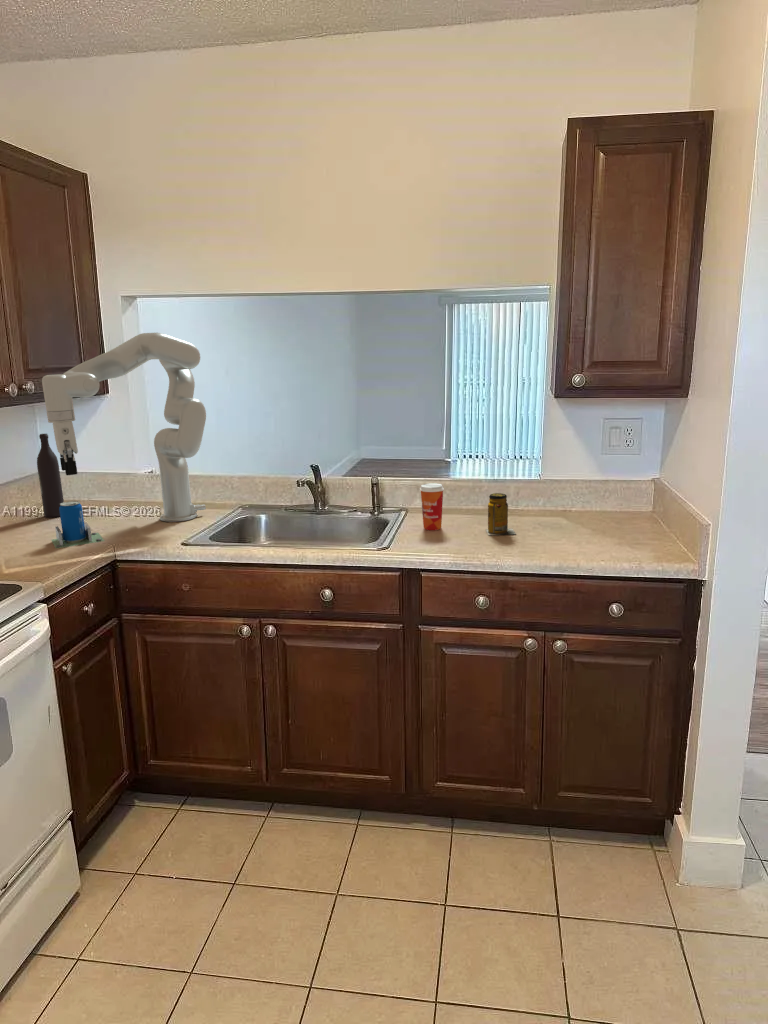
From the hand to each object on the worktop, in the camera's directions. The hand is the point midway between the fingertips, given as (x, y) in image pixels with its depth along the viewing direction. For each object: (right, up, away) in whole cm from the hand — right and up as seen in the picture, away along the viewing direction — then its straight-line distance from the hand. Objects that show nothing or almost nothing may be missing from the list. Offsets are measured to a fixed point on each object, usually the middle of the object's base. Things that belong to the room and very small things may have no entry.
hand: (69, 472), depth 218 cm
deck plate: (+1, -22, +4) cm, 22 cm away
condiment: (+133, -19, +2) cm, 134 cm away
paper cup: (+112, -18, +9) cm, 114 cm away
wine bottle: (-24, -14, +42) cm, 51 cm away
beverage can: (0, -21, +4) cm, 22 cm away
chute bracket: (0, -21, +4) cm, 21 cm away
